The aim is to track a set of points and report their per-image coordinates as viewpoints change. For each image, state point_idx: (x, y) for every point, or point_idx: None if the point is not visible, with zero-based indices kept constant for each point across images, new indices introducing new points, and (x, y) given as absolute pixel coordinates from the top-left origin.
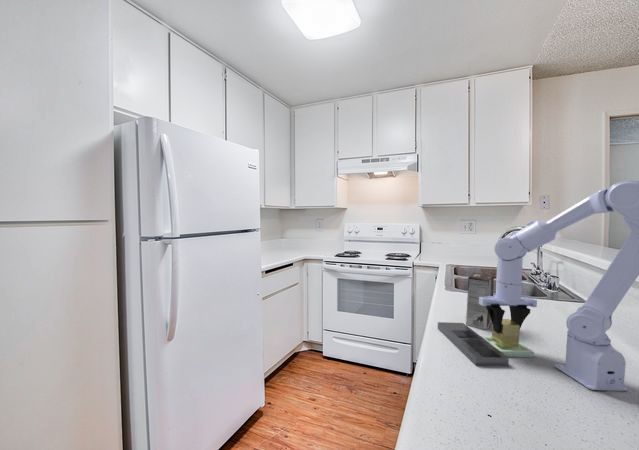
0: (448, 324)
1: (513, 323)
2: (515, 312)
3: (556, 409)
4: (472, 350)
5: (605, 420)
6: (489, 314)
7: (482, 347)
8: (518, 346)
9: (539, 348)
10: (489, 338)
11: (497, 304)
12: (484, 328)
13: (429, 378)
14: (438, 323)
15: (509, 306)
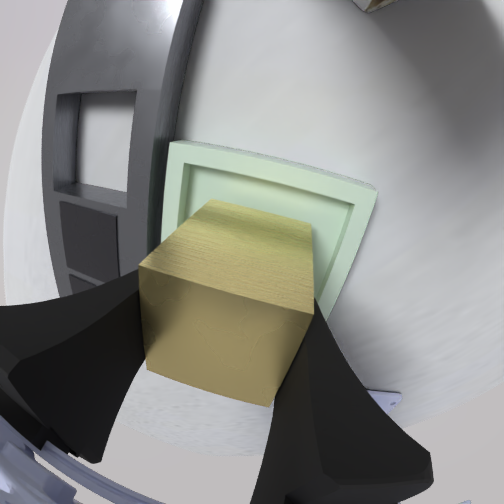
0: (90, 13)
1: (251, 383)
2: (277, 460)
3: (160, 419)
4: (65, 286)
5: (213, 445)
6: (66, 299)
7: (99, 280)
8: (328, 269)
9: (430, 281)
10: (220, 168)
11: (40, 452)
12: (356, 2)
13: (14, 301)
14: (67, 8)
15: (318, 457)
